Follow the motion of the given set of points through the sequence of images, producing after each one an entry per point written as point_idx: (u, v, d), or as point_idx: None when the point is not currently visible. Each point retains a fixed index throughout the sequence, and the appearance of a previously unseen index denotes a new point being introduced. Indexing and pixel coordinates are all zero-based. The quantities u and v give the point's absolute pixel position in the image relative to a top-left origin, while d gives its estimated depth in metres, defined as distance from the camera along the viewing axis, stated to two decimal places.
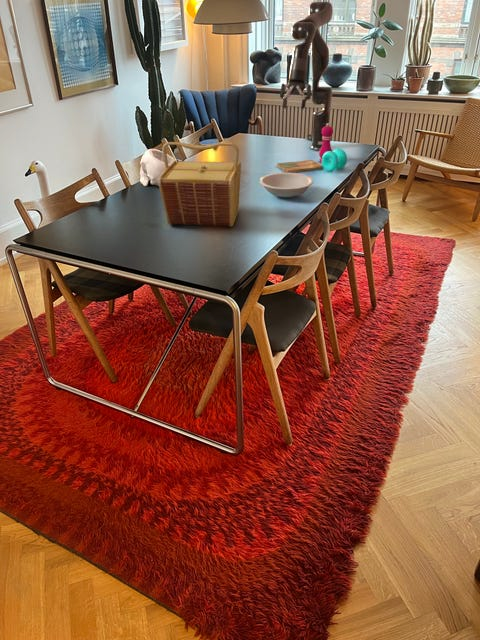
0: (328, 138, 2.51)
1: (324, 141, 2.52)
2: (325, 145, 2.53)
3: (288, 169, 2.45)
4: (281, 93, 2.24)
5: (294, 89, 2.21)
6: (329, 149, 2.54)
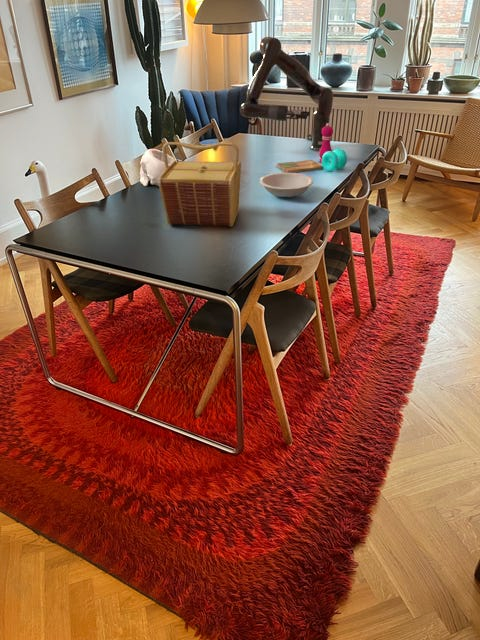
0: (328, 138, 2.51)
1: (324, 141, 2.52)
2: (325, 145, 2.53)
3: (288, 169, 2.45)
4: None
5: None
6: (329, 149, 2.54)
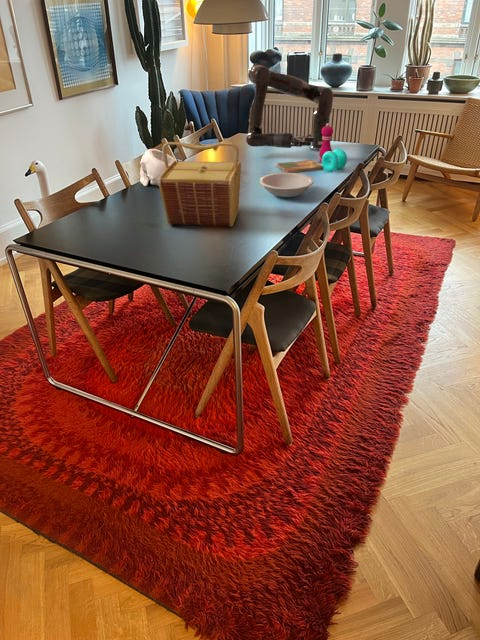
0: (328, 138, 2.51)
1: (324, 141, 2.52)
2: (325, 145, 2.53)
3: (288, 169, 2.45)
4: None
5: None
6: (329, 149, 2.54)
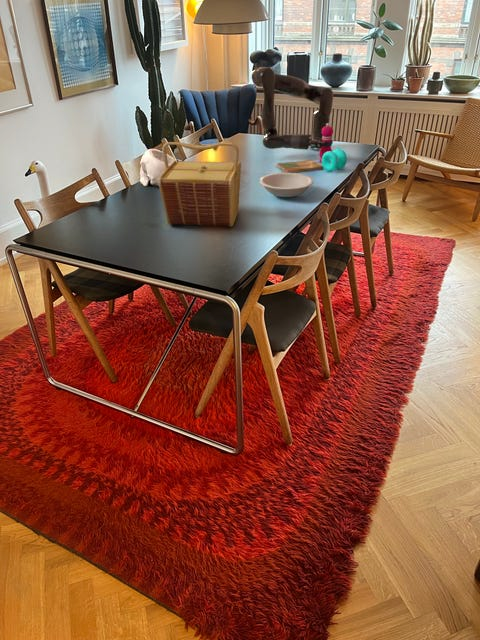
0: (328, 138, 2.51)
1: (324, 141, 2.52)
2: None
3: (288, 169, 2.45)
4: None
5: None
6: (329, 149, 2.54)
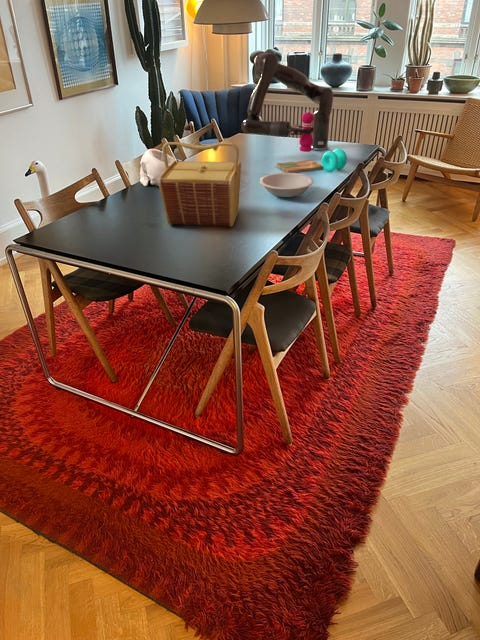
0: (308, 125, 2.42)
1: (304, 128, 2.44)
2: None
3: (288, 169, 2.45)
4: None
5: None
6: (309, 137, 2.45)
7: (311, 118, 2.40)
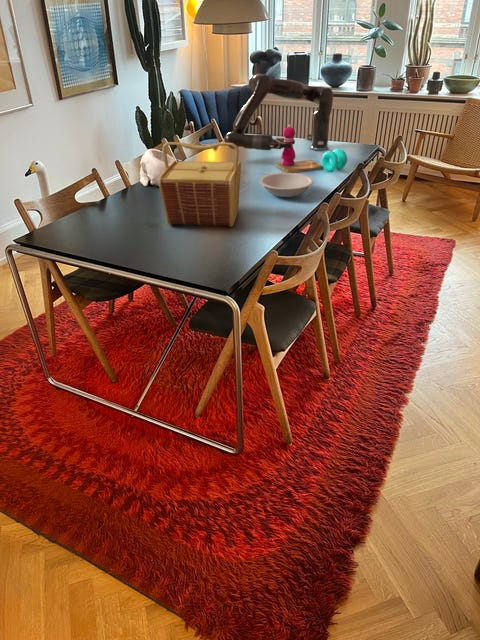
0: (290, 140, 2.42)
1: None
2: None
3: (288, 169, 2.45)
4: None
5: None
6: (291, 151, 2.45)
7: (292, 133, 2.40)
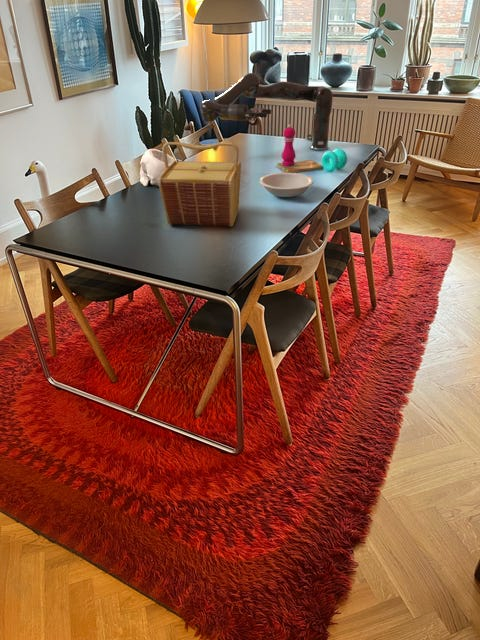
0: (290, 140, 2.42)
1: (286, 143, 2.44)
2: (287, 147, 2.45)
3: (288, 169, 2.45)
4: None
5: None
6: (291, 151, 2.45)
7: (292, 133, 2.40)
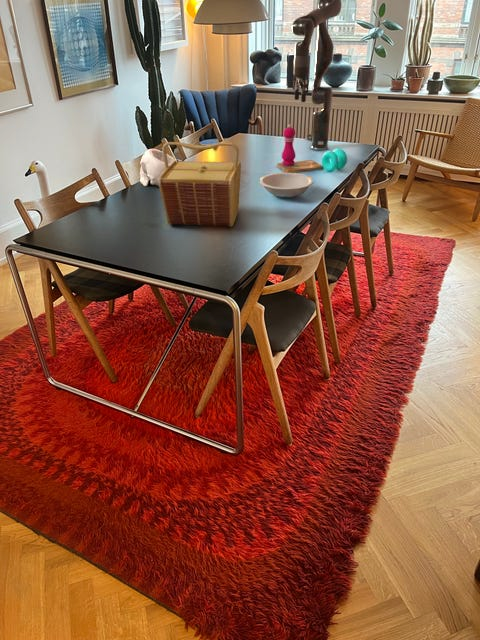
0: (290, 140, 2.42)
1: (286, 143, 2.44)
2: (287, 147, 2.45)
3: (288, 169, 2.45)
4: (293, 86, 2.50)
5: (298, 83, 2.44)
6: (291, 151, 2.45)
7: (292, 133, 2.40)
